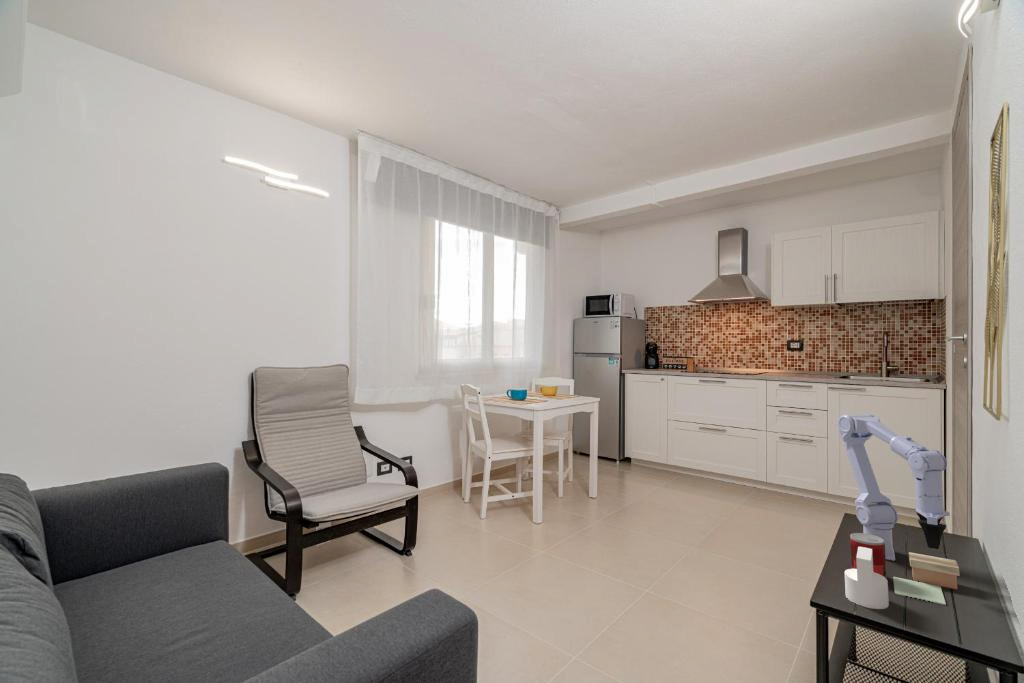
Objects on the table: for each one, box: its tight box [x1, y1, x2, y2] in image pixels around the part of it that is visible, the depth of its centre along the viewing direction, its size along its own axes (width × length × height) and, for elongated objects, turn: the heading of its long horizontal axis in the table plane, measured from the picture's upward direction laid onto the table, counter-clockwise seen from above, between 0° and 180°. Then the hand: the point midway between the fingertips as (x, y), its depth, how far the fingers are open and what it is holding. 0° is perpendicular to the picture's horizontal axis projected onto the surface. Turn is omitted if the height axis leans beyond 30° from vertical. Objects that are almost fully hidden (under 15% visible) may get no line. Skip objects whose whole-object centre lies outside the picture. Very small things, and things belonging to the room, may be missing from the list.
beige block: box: [908, 551, 961, 577], centre depth 130 cm, size 6×10×2 cm, turn 53°
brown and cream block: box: [911, 567, 958, 590], centre depth 130 cm, size 4×9×4 cm, turn 53°
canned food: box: [849, 532, 887, 579], centre depth 134 cm, size 8×8×11 cm
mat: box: [892, 576, 947, 606], centre depth 126 cm, size 11×10×1 cm
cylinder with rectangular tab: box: [844, 547, 890, 610], centre depth 122 cm, size 9×9×12 cm
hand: (932, 543), depth 130 cm, fingers open, 7 cm apart
